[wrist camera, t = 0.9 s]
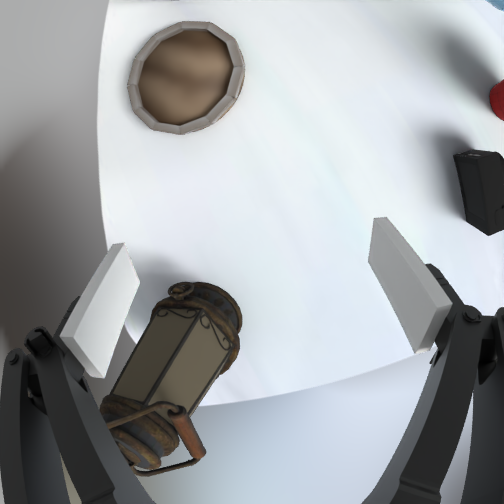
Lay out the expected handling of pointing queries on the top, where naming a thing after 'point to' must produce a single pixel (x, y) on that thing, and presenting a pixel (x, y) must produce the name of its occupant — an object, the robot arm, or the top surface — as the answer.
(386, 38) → the top surface
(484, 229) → the digital camera
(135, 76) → the carrier plate
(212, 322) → the lantern
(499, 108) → the plastic cup
